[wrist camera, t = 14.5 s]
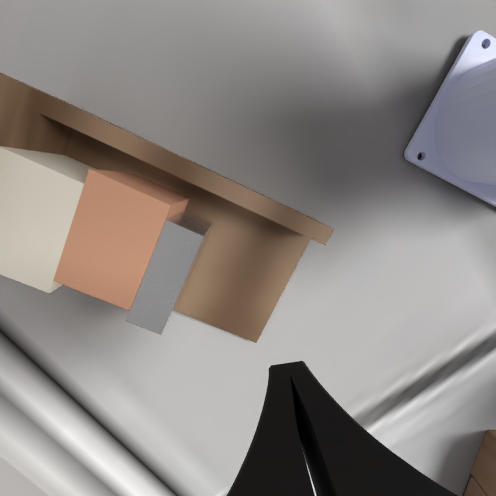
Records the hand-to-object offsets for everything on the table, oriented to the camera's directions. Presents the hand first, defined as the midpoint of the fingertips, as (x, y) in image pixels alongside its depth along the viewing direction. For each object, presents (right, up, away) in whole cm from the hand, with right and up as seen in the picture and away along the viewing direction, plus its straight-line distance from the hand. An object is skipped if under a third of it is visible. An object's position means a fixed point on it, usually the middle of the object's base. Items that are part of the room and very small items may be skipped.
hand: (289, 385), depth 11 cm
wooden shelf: (-7, +6, +8) cm, 13 cm away
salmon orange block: (-9, +7, +8) cm, 13 cm away
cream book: (-12, +8, +7) cm, 16 cm away
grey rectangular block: (-6, +5, +8) cm, 11 cm away
